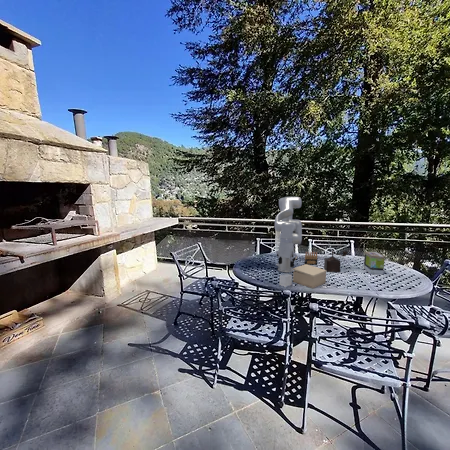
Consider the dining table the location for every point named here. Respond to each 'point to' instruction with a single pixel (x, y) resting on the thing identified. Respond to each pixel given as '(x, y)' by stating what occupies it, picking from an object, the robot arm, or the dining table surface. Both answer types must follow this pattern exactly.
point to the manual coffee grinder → (333, 263)
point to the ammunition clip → (311, 259)
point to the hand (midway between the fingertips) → (285, 265)
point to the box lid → (309, 270)
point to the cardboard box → (309, 279)
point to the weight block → (285, 280)
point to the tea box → (374, 262)
